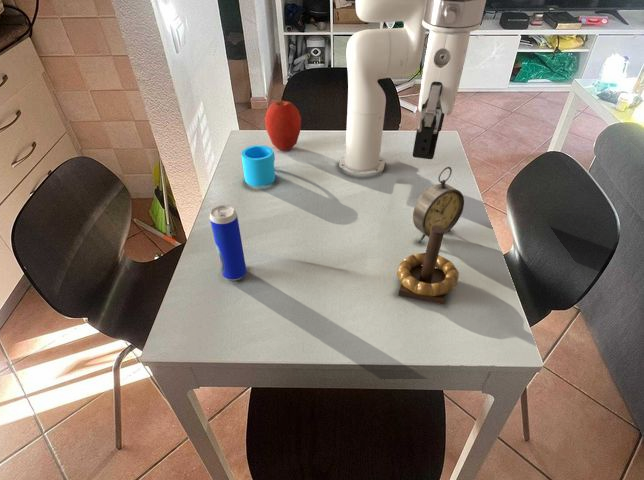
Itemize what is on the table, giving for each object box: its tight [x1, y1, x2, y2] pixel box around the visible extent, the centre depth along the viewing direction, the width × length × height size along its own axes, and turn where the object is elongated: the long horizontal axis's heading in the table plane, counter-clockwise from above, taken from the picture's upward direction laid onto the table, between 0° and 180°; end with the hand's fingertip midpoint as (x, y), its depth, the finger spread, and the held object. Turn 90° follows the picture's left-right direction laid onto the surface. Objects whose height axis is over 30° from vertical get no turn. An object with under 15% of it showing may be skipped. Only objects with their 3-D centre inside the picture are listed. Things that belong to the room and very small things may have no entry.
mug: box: [240, 144, 276, 187], centre depth 113 cm, size 12×8×8 cm
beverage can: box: [209, 204, 247, 282], centre depth 85 cm, size 5×5×15 cm
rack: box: [397, 226, 447, 306], centre depth 82 cm, size 9×9×14 cm
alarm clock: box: [412, 166, 465, 244], centre depth 92 cm, size 11×5×16 cm, turn 117°
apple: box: [264, 97, 302, 152], centre depth 123 cm, size 10×10×14 cm
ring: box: [396, 252, 460, 296], centre depth 86 cm, size 12×12×2 cm
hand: (427, 143), depth 69 cm, fingers open, 9 cm apart
